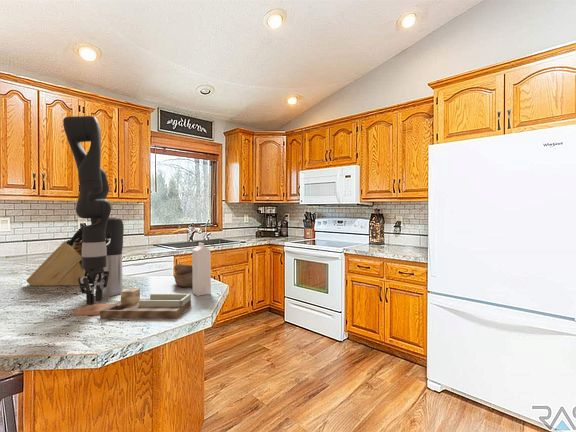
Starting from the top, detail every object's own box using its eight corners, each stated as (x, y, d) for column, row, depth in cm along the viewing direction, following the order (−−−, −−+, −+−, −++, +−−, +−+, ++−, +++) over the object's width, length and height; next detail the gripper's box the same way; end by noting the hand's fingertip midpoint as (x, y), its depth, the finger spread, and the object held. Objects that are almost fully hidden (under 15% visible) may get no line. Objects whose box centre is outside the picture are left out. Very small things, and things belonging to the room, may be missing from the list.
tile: (73, 314, 106) (73, 311, 106) (90, 306, 115) (90, 303, 115) (99, 314, 105) (99, 311, 105) (114, 306, 114) (114, 303, 114)
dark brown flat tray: (100, 318, 102) (99, 310, 102) (123, 305, 116) (123, 299, 116) (176, 318, 101) (176, 311, 101) (190, 305, 115) (190, 299, 115)
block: (120, 304, 109) (120, 291, 109) (127, 300, 114) (127, 288, 114) (133, 304, 109) (133, 291, 109) (139, 300, 114) (139, 288, 114)
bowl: (160, 286, 146) (160, 265, 146) (184, 281, 158) (184, 261, 158) (187, 291, 137) (187, 268, 137) (210, 285, 149) (209, 264, 149)
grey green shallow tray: (138, 306, 106) (138, 300, 106) (151, 299, 116) (151, 293, 116) (181, 306, 106) (181, 300, 106) (190, 299, 115) (190, 293, 115)
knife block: (98, 286, 147) (98, 221, 147) (25, 286, 148) (24, 222, 147) (112, 281, 159) (111, 221, 158) (44, 281, 159) (43, 221, 159)
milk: (197, 296, 129) (196, 243, 129) (192, 293, 134) (191, 242, 134) (211, 293, 133) (210, 242, 132) (205, 290, 138) (205, 241, 137)
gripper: (91, 257, 103) (92, 308, 103) (116, 252, 117) (116, 297, 117) (69, 257, 103) (69, 308, 103) (96, 252, 117) (97, 297, 117)
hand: (94, 302), depth 110 cm, fingers open, 4 cm apart
